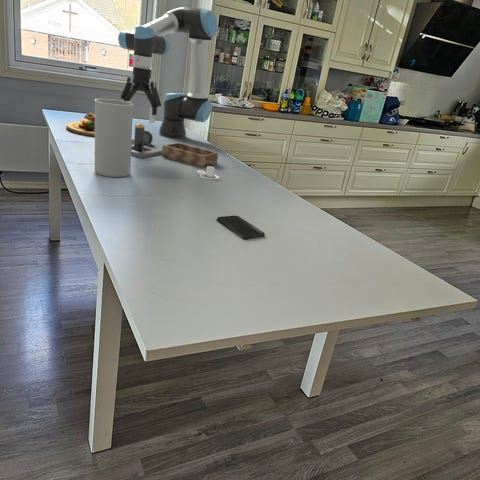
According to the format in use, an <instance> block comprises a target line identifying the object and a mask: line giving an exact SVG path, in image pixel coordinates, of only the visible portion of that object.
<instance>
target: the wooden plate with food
mask: <svg viewBox="0 0 480 480" xmlns="http://www.w3.org/2000/svg"><path fill="white" fill-rule="evenodd" d="M66 129H67V131H70V132H71V133H73V134H77V135H82V136H87V137H92V138H93V137H94V138H95V113H93V112H89V113H87V114H85V116H84V117H82V118H81V119H80V121H74V122H73V121H72V122H69V123H67V124H66Z"/></svg>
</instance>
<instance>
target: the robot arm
mask: <svg viewBox="0 0 480 480" xmlns="http://www.w3.org/2000/svg"><path fill="white" fill-rule="evenodd" d="M217 32H218V21H217V17H216V15H215V12H213V11H212V10H210V9H205V8H198V7H196V8H195V7H189V6H181V7H175V8H174V9H171V10H168V11H166V12H165V13H163V14H162V16H161V17H159V18H156V19H154V20H153V21H150V22H148V23H146V24H143V25H136V26H135V28H134V29H132V30H129V29H128V30H124V29H123V30H121V31H120V32H119V33H118V38H117V40H118V45H119V46H120V48H122V49H123V50H127V51H133V61H132V62H133V63H132V65H133V67H132V77H127V78H126V82H125V83H126V84H125V86H124V88H123V90H122V93H121V94H120V100H122V99H123V100H122V101H126V102H130V103H132V101H131V99H132V98H133V97H134V96H135V94H136V93H137V92H138V91H139V92H143V93H144V94H145V95H146V97H147V99H148V101H149V103H150V105H151V106H149V107H150V108H149V121H148V123H149V124H155V123H156V122H155V121H156V116H157V114H158V113H157V112H158V107H159V108H160V107H162V101H161V98H160V96H159V95H160V94H159V92H158V88H157V82H155V81H151V78H152V68H153V55H158V56H165V55H167V54H168V53H169V51H170V50H171V44H170V40H169V39H168V38H167V37H165V36H167V35H169V34H171V35H172V34H175V33H183V34H188V39H189V40H190V42H191V45H190V46H191V47H190V68H189V70H190V73H189V91H188V93H187V94H186V93H184V92H183V93H182V92H180V93H179V92H177V93H176V92H172V93H171V92H167V93H166V94H165V95H164V100H163V120H162V122H161V125H160V128H159V132H158V134H159V135H160V136H163V137H167V138H173V139H174V138H175V139H184V138H186V137H187V132H186V126H185V120H189V121H192V122H196V123H205V122H207V120H209V118H210V116H211V113H212V108H213V106H212V102H211V101H210V100H209V96H208V94H207V93H206V91H207V75H208V73H207V72H208V57H209V44H211V42H212V39H213V38H214V37H215V36H216V34H217Z"/></svg>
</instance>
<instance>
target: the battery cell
mask: <svg viewBox="0 0 480 480" xmlns="http://www.w3.org/2000/svg"><path fill="white" fill-rule="evenodd" d="M144 129H145V125H144V124H142V123H141V122H138V123H137V124H134V139H135V141H134V143H133V144H134V151H138V152H144V151H143V145H144Z"/></svg>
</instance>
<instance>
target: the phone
mask: <svg viewBox="0 0 480 480" xmlns="http://www.w3.org/2000/svg"><path fill="white" fill-rule="evenodd" d="M216 222H218V223H219V224H220V225H222V226H223V227H225V229H228V230H229V231H230V232H232V233H233V234H235V235H236V236H237V237H239V238H240V239H241V240H246V241H247V240H253V239H254V240H255V239H260V238H264V237H265V236H266V233H265V232H264V231H262V230H260V229H259V228H258V227H256V226H255V225H253V224H252V223H250V222H248V221H247V220H245V219H244V218H241V217H240V216H239V215H227V216H226V215H225V216H217V217H216Z"/></svg>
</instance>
